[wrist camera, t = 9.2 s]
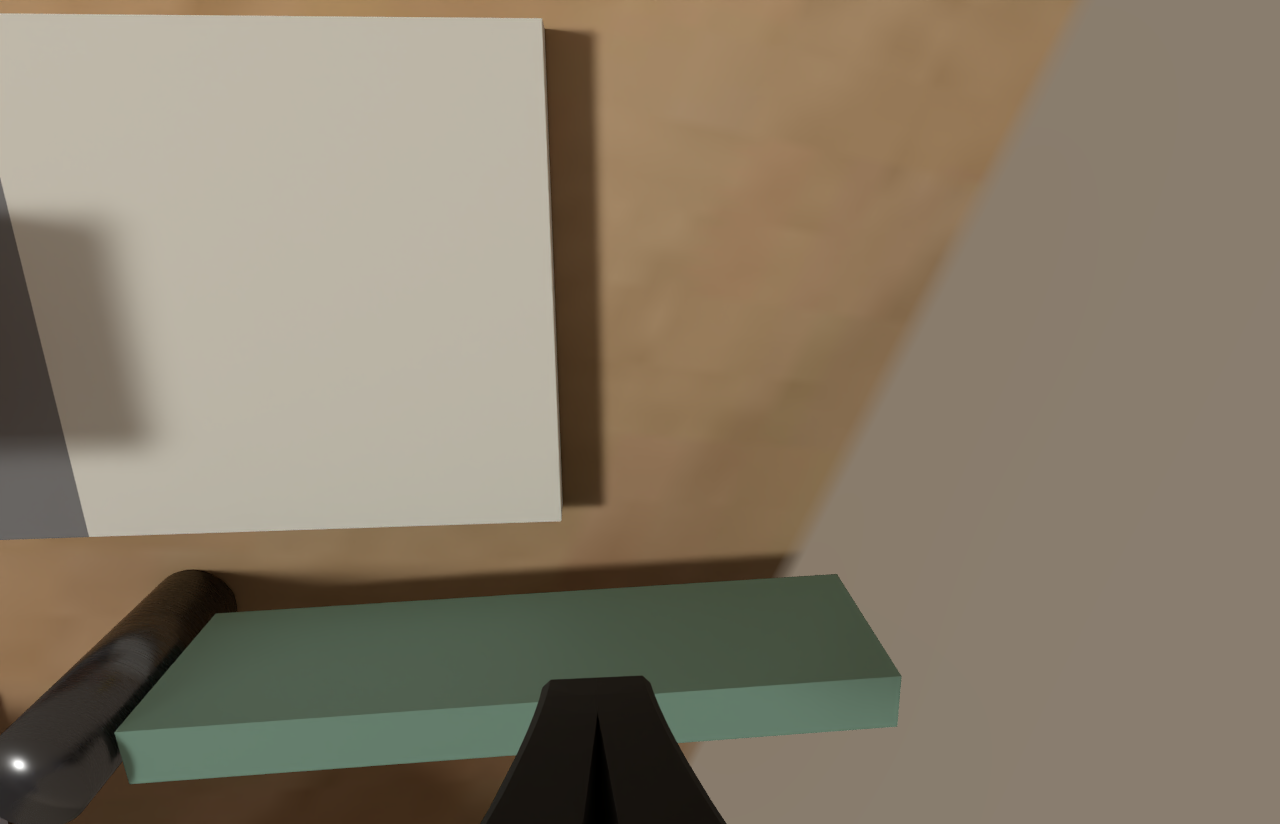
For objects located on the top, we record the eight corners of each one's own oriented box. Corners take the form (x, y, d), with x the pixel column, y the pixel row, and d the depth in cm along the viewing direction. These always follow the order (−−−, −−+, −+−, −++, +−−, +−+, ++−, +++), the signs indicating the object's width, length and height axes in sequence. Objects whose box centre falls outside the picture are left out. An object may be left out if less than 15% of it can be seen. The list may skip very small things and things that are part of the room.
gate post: (163, 639, 20) (-12, 831, 14) (148, 571, 19) (-43, 742, 13) (242, 636, 20) (100, 824, 14) (229, 569, 19) (76, 736, 13)
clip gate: (215, 613, 18) (114, 732, 14) (836, 574, 19) (901, 675, 15) (225, 656, 18) (129, 784, 14) (834, 616, 19) (897, 726, 15)
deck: (-392, 534, 18) (-447, 555, 17) (-628, 18, 14) (-715, 6, 13) (562, 504, 19) (561, 520, 18) (544, 28, 16) (541, 18, 15)
